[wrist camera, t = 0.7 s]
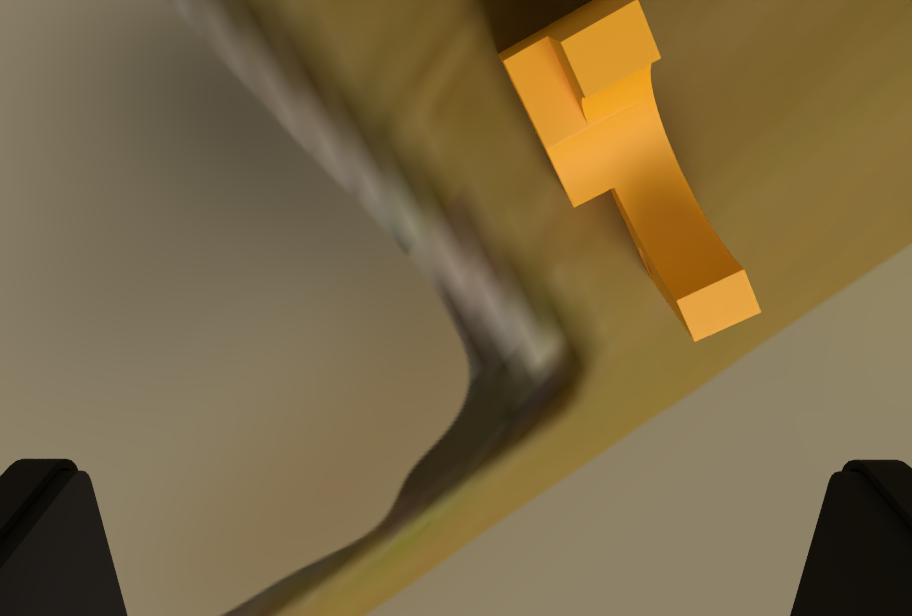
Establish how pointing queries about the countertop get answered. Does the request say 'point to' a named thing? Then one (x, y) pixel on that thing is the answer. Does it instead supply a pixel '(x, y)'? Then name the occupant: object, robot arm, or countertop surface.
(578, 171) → the pipe clamp
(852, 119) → the countertop surface
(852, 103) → the countertop surface
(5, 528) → the robot arm
